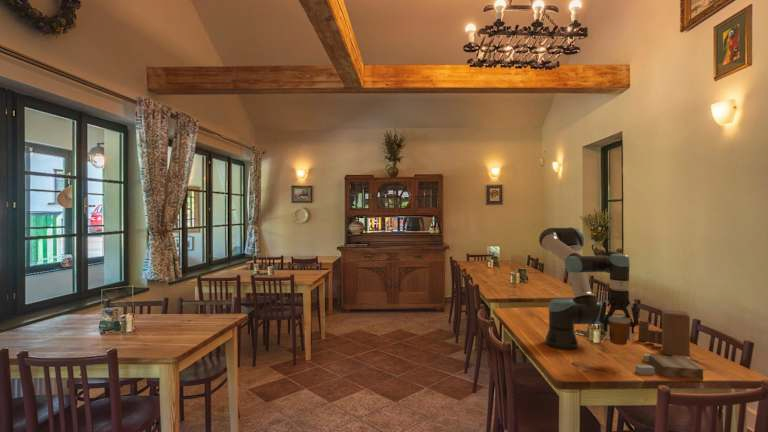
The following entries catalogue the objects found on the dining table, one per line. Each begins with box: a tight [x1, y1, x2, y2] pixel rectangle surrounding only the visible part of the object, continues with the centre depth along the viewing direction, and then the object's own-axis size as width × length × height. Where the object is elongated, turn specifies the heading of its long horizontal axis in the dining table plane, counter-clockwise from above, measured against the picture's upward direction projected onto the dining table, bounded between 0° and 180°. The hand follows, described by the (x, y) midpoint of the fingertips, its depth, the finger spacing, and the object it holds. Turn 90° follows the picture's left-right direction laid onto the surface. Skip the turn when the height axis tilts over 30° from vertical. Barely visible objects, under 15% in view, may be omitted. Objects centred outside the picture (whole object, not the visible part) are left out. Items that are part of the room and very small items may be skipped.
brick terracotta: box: [672, 355, 691, 361], centre depth 177 cm, size 6×3×3 cm, turn 62°
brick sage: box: [643, 353, 652, 363], centre depth 179 cm, size 6×3×3 cm, turn 55°
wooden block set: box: [637, 319, 662, 345], centre depth 207 cm, size 18×9×10 cm, turn 171°
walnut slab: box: [649, 354, 704, 380], centre depth 168 cm, size 14×14×4 cm
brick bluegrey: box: [635, 364, 656, 375], centre depth 166 cm, size 6×3×3 cm, turn 88°
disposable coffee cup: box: [608, 312, 631, 346], centre depth 177 cm, size 10×10×12 cm
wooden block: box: [661, 308, 691, 358], centre depth 189 cm, size 10×10×20 cm
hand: (618, 339), depth 178 cm, fingers closed on disposable coffee cup, 8 cm apart
